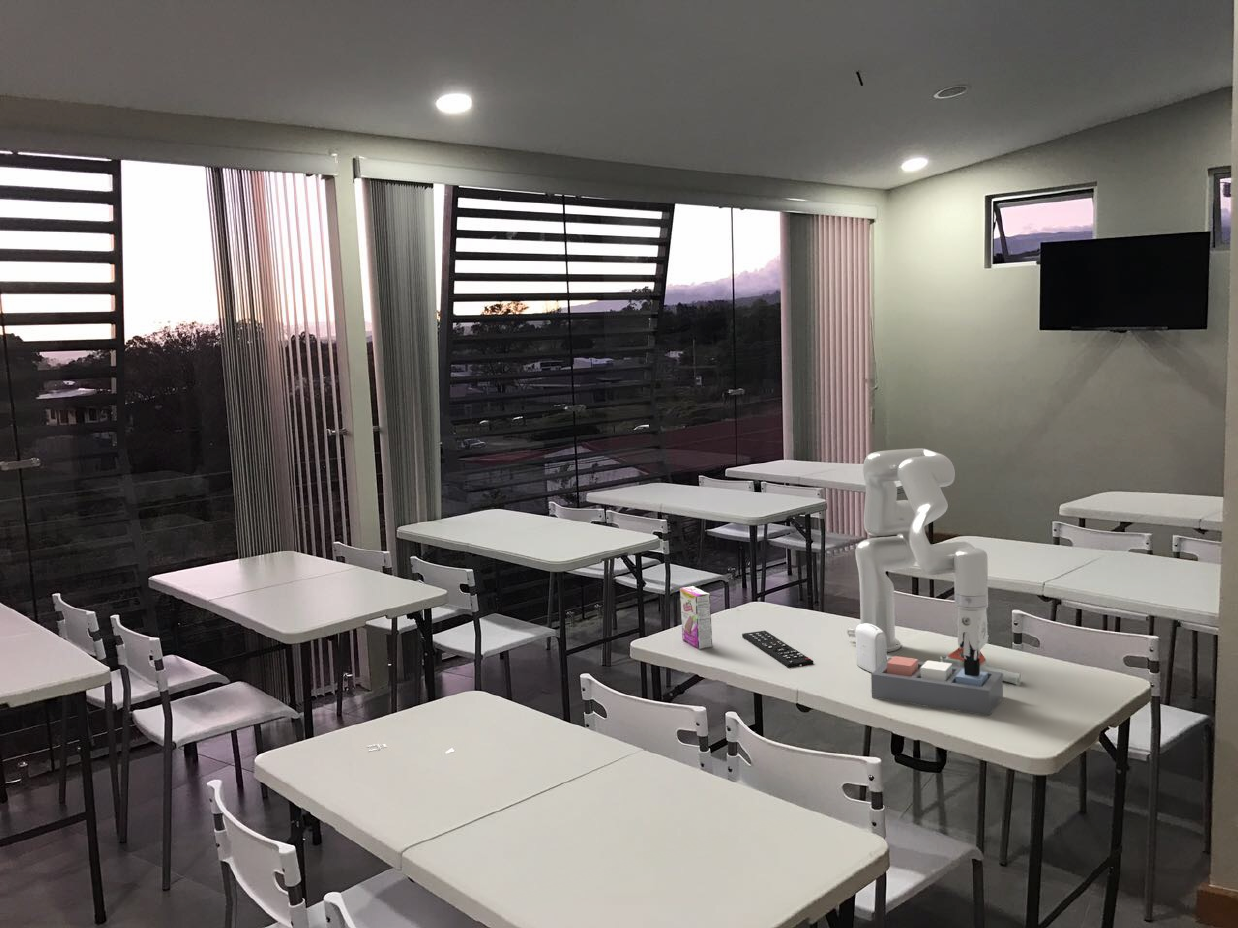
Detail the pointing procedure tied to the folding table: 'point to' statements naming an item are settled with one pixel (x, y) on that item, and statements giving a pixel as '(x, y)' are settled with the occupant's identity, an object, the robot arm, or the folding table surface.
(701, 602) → the candy bar box
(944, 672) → the white key
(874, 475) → the robot arm
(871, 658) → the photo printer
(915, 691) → the key panel
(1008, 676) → the tape dispenser
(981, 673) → the blue key
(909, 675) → the red key
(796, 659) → the remote control
